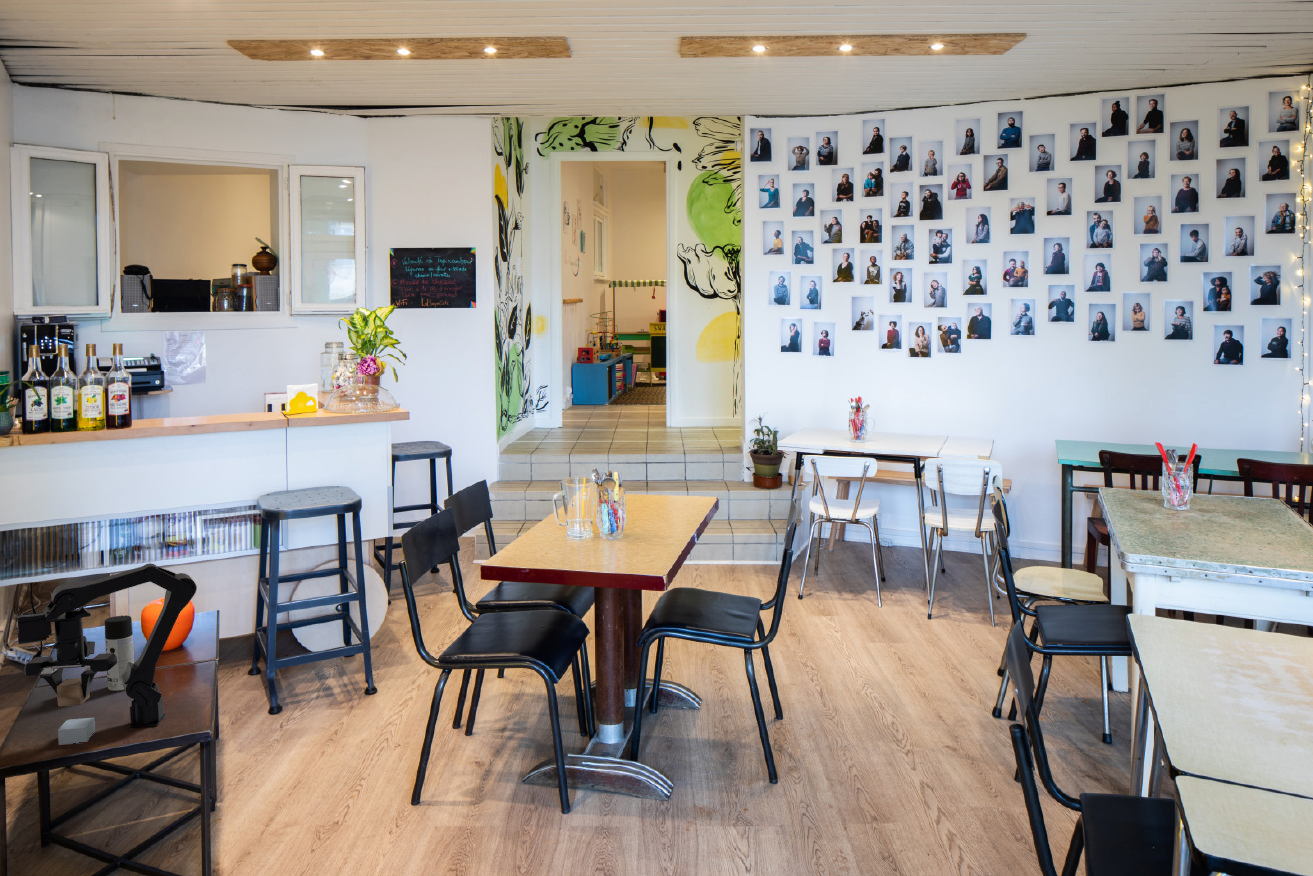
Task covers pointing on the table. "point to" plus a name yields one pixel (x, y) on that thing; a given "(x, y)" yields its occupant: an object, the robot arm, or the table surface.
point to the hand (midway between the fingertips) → (73, 697)
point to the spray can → (119, 648)
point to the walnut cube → (71, 693)
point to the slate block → (76, 731)
